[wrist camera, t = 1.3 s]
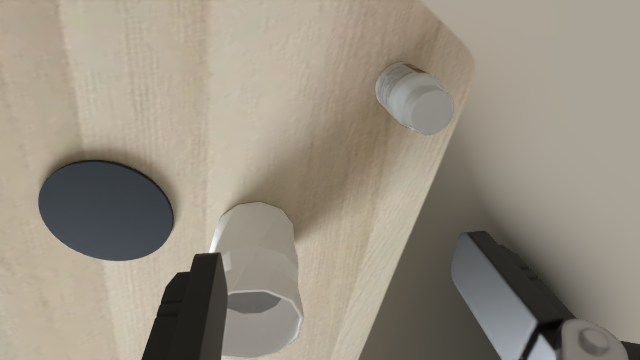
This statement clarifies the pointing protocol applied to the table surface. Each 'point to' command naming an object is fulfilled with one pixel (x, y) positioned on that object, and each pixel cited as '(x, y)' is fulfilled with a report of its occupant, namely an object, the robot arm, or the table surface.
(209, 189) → the table surface
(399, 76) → the pill bottle
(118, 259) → the rubber mat
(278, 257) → the vase
